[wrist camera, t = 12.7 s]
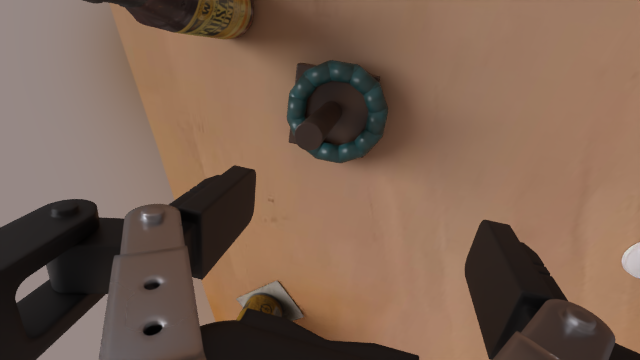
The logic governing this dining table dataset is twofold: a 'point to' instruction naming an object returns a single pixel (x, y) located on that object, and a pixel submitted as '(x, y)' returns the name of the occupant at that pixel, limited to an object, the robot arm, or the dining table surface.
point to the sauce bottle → (192, 15)
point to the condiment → (270, 302)
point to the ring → (362, 84)
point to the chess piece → (632, 260)
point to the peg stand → (330, 114)
